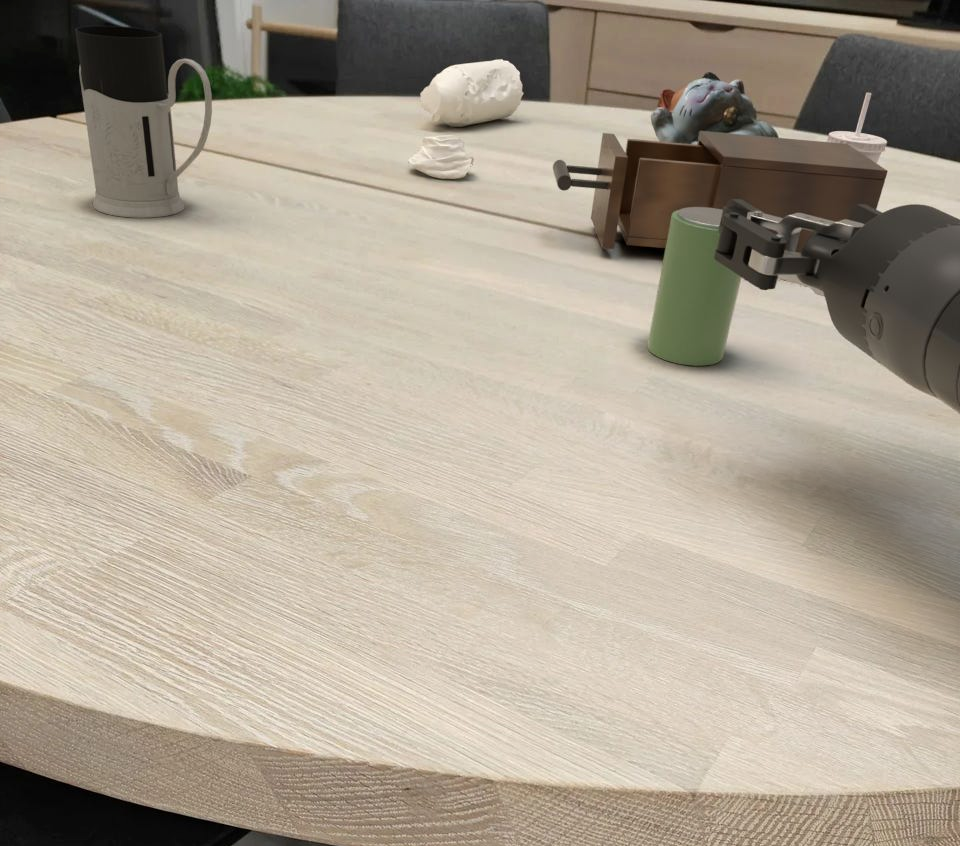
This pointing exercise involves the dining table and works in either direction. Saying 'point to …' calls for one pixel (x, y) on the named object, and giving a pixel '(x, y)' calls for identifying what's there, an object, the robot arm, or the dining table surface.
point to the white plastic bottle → (473, 93)
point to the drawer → (643, 187)
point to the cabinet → (793, 176)
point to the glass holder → (133, 120)
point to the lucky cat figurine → (706, 111)
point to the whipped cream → (442, 157)
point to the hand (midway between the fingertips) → (791, 218)
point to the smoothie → (861, 137)
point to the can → (693, 292)
